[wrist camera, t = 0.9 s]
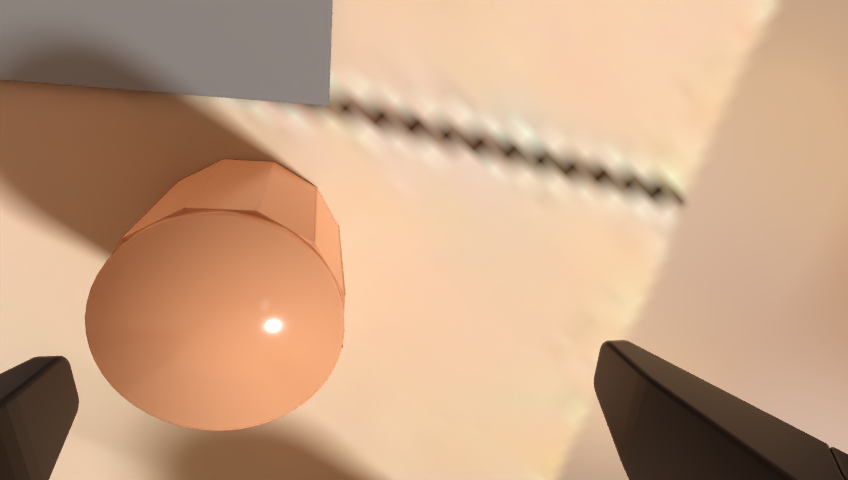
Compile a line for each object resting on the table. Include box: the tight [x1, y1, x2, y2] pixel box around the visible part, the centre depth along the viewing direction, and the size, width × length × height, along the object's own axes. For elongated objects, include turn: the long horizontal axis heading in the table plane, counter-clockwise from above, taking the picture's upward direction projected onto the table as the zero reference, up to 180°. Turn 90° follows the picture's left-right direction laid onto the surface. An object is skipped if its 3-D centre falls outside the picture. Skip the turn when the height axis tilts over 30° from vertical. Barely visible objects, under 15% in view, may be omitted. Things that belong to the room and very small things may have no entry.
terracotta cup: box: [85, 159, 345, 430], centre depth 19 cm, size 7×7×7 cm
